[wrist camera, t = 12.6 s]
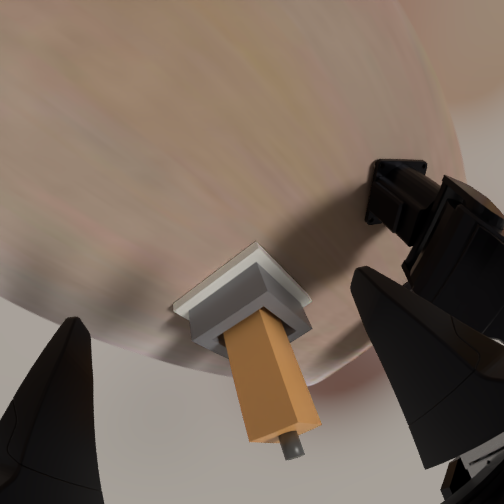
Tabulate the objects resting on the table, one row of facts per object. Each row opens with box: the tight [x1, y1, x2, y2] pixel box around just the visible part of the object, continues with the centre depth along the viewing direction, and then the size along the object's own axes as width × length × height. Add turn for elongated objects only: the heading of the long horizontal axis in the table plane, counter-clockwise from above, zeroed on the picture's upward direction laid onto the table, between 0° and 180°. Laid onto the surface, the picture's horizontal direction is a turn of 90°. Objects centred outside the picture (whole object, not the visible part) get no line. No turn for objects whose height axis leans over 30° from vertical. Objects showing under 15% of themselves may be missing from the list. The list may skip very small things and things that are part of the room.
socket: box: [173, 241, 313, 359], centre depth 26 cm, size 10×10×4 cm
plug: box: [223, 306, 322, 460], centre depth 21 cm, size 4×4×15 cm
